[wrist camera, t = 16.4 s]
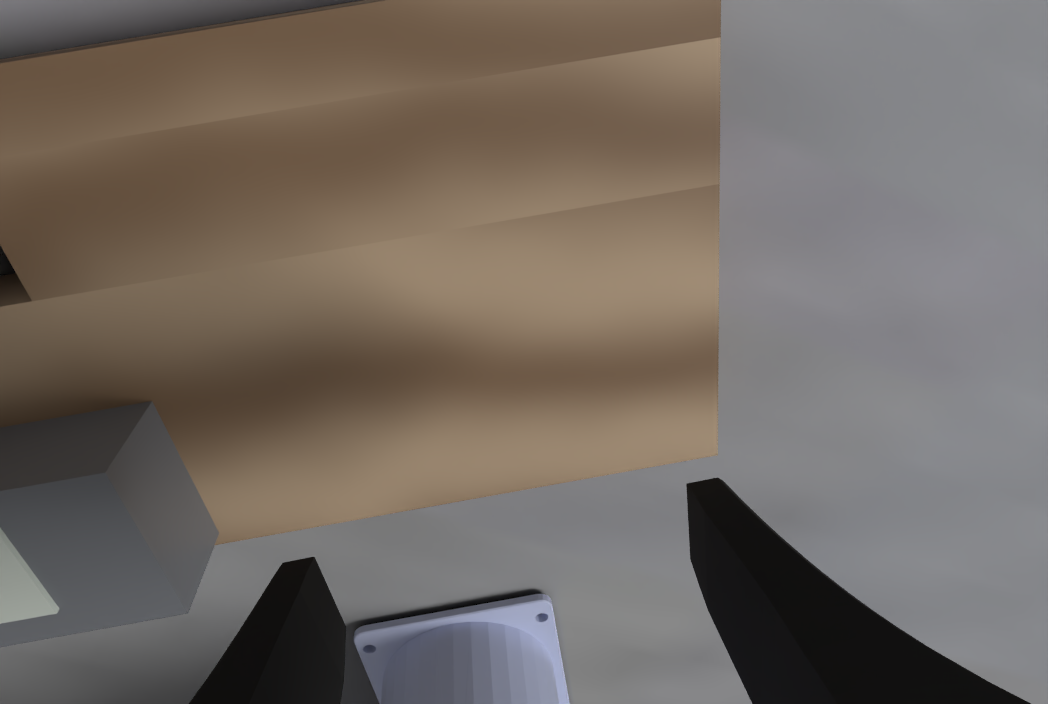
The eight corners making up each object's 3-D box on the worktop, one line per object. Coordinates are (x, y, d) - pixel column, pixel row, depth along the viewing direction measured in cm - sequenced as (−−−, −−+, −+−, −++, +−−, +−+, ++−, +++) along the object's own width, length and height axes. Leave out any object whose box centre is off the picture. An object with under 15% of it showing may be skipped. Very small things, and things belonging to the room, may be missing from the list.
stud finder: (219, 533, 21) (186, 617, 18) (-8, 573, 21) (-75, 665, 18) (152, 400, 19) (102, 477, 16) (-107, 446, 18) (-202, 530, 16)
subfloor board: (692, 423, 24) (717, 469, 22) (-46, 555, 24) (-95, 615, 21) (684, -82, 16) (721, -88, 14) (-413, 96, 16) (-547, 118, 14)
